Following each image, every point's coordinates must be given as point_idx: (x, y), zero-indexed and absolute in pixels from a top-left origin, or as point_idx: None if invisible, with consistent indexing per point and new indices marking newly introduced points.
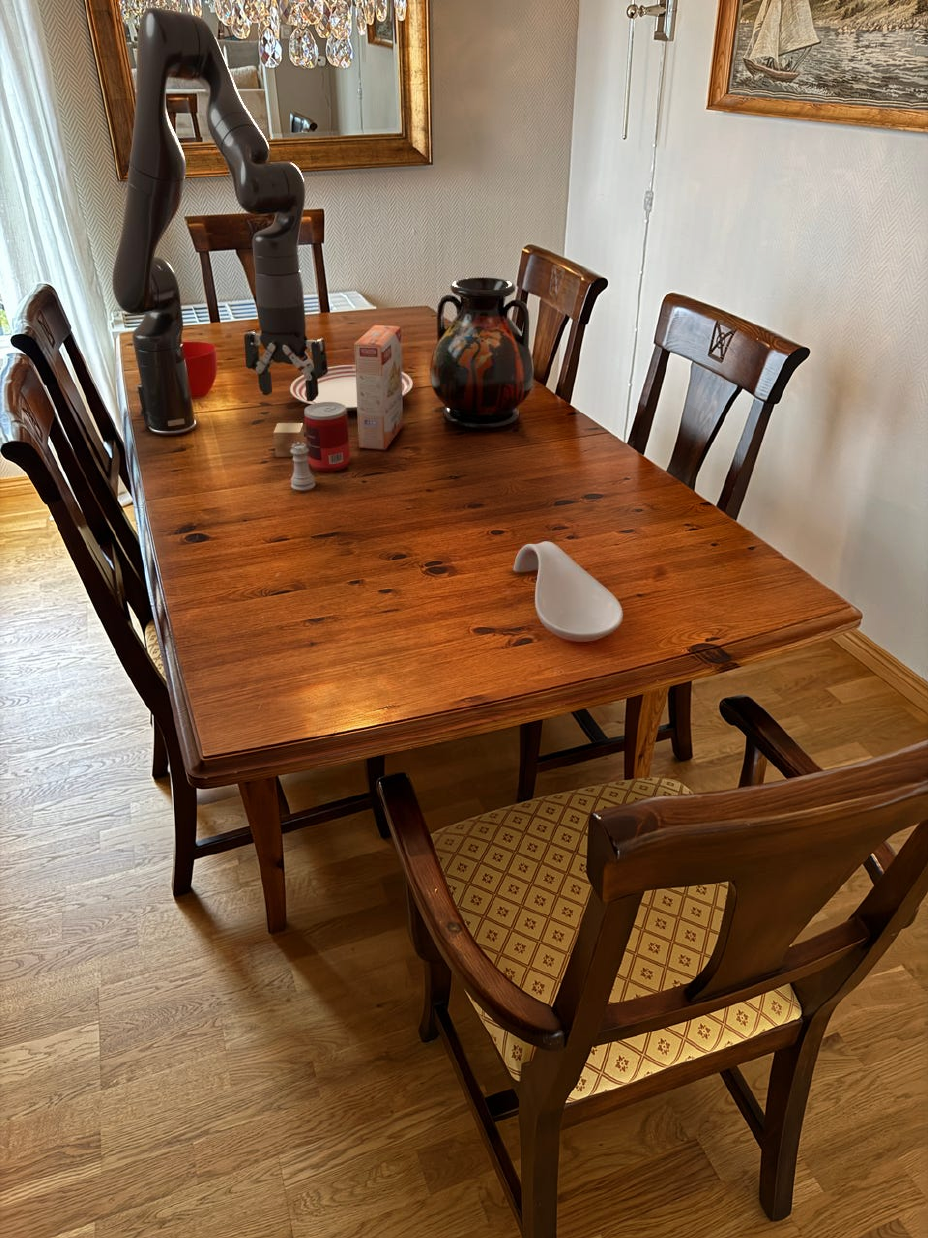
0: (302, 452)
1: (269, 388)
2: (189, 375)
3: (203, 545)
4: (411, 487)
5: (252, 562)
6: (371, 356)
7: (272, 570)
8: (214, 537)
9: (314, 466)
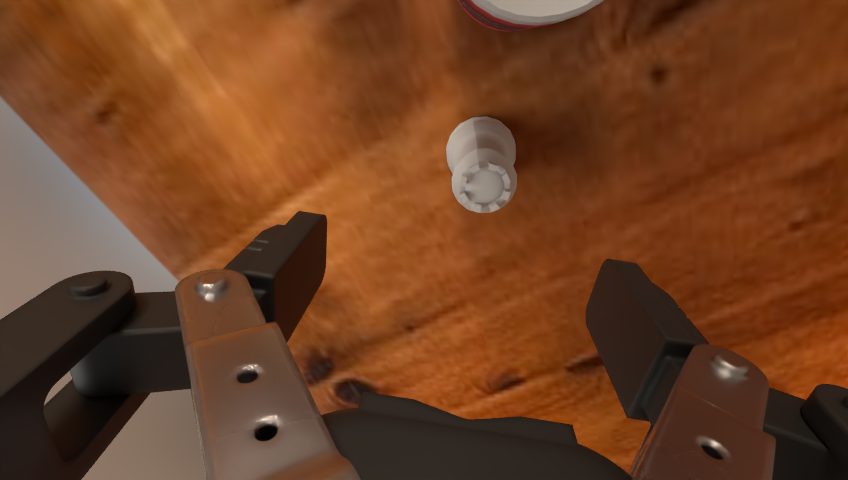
0: (502, 205)
1: (317, 251)
2: None
3: None
4: (822, 85)
5: None
6: None
7: None
8: (384, 388)
9: (480, 23)
